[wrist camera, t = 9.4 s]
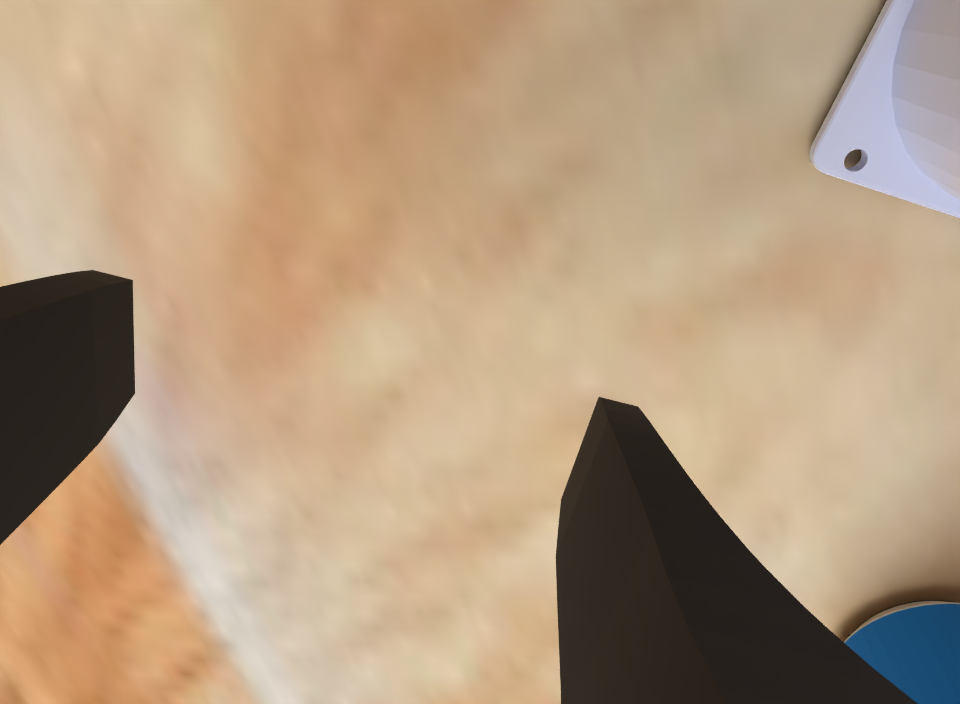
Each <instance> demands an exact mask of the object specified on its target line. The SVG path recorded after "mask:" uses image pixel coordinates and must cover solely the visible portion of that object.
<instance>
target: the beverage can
mask: <svg viewBox="0 0 960 704" xmlns="http://www.w3.org/2000/svg"><path fill="white" fill-rule="evenodd" d="M844 643H845V644H846V645H847V646H848V647H850V648H851V649H852V650H853V651H854V652H855V653H856V654H858V655H859V656H860V657H861V658H862V659H863V660H865V661H866V662H867V663H868V664H869V665H870V666H872V667H873V668H874V669H875V670H876V671H878V672H879V673H880V674H881V675H883V676H884V677H885V678H886V679H888V680H889V681H890V682H891V683H893V684H894V685H895V686H896V687H898V688H899V689H900V690H901V691H903V692H904V693H905V694H906V695H907V696H909V697H910V698H911V699H913V700H914V701H915V702H917V703H918V704H960V603H954V602H945V601H921V602H913V603H907V604H903V605H899V606H896V607H893V608H890V609H887V610H885V611H883V612H880V613H878V614H876V615H875V616H873V617H871V618H870V619H868V620H867V621H866V622H864V623H863V624H862V625H861V626H860V627H859V628H858V629H857V630H855V632H853V633H852V634H851V635H850V636H849V637H848V638H847V639H846V640H845V641H844Z"/></svg>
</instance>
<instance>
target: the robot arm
mask: <svg viewBox="0 0 960 704" xmlns="http://www.w3.org/2000/svg"><path fill="white" fill-rule="evenodd" d="M855 149H860V150H861V153H862V156H861V159H860V161H859V162H858V163H857V164H856V165H855V166H853V167H850V168H846V167H845V166H844V160H845V157H846V156H847V154H848V153H849V152H851V151H853V150H855ZM809 153H810V161H811V162H812V164H813V166H814V167H815V168H817V169H818V170H819V171H821V172H823V173H824V174H827V175H830V176H833V177H836V178H839V179H843V180H846V181H849V182H852V183H855V184H858V185H861V186H864V187H867V188H870V189H873V190H876V191H879V192H882V193H885V194H888V195H891V196H894V197H897V198H900V199H903V200H906V201H909V202H912V203H915V204H918V205H921V206H924V207H927V208H931V209H934V210H937V211H940V212H943V213H946V214H949V215H952V216H955V217H958V218H960V0H887V1H886V3H885V5H884V7H883V9H882V11H881V13H880V14H879V16H878V18H877V20H876V22H875V24H874V26H873V28H872V30H871V32H870V34H869V36H868V38H867V39H866V41H865V43H864V45H863V47H862V49H861V51H860V53H859V55H858V57H857V59H856V61H855V63H854V64H853V66H852V68H851V70H850V72H849V74H848V76H847V78H846V80H845V82H844V84H843V86H842V88H841V89H840V91H839V93H838V95H837V97H836V99H835V101H834V103H833V105H832V107H831V109H830V111H829V113H828V114H827V116H826V118H825V120H824V122H823V124H822V126H821V128H820V130H819V132H818V134H817V136H816V138H815V139H814V141H813V143H812V146H811V149H810V152H809ZM134 394H135V372H134V325H133V280H130V279H126V278H122V277H118V276H114V275H110V274H106V273H102V272H98V271H94V270H90V271H80V272H72V273H66V274H60V275H55V276H49V277H44V278H39V279H35V280H30V281H25V282H20V283H16V284H11V285H7V286H2V287H0V545H1V544H2V543H3V542H4V540H5V539H6V538H7V537H8V536H9V535H10V534H11V533H12V532H13V531H14V530H15V529H16V528H17V527H18V526H19V525H20V524H21V523H22V522H23V521H24V520H25V519H26V518H27V517H28V516H29V515H30V514H31V513H32V512H33V511H34V510H35V509H36V508H37V507H38V506H39V505H40V504H41V503H42V502H43V501H44V500H45V499H46V498H47V497H48V496H49V495H50V494H51V493H52V492H53V491H54V490H55V489H56V488H57V487H58V486H59V485H60V484H61V483H62V482H63V480H64V479H65V478H66V477H67V476H68V475H69V474H70V473H71V472H72V471H73V470H74V469H75V468H76V467H77V466H78V465H79V464H80V463H81V462H82V461H83V460H84V459H85V458H86V457H87V456H88V454H89V453H90V452H91V451H92V450H93V449H94V448H95V447H96V446H97V445H98V444H99V443H100V441H101V440H102V439H103V437H104V436H105V435H106V433H107V432H108V431H109V429H110V428H111V427H112V425H113V424H114V423H115V421H116V420H117V418H118V417H119V415H120V414H121V413H122V411H123V410H124V408H125V407H126V405H127V404H128V402H129V401H130V400H131V398H132V397H133V395H134ZM556 576H557V605H558V630H559V654H560V679H561V704H918V703H917V702H915V701H914V700H913V699H911V698H910V697H909V696H907V695H906V694H905V693H904V692H903V691H901V690H900V689H899V688H898V687H896V686H895V685H894V684H893V683H891V682H890V681H889V680H888V679H886V678H885V677H884V676H883V675H881V674H880V673H879V672H878V671H876V670H875V669H874V668H873V667H872V666H870V665H869V664H868V663H867V662H866V661H865V660H863V659H862V658H861V657H860V656H859V655H858V654H856V653H855V652H854V651H853V650H852V649H851V648H850V647H848V646H847V645H846V644H845V643H844V642H843V641H841V640H840V639H839V638H838V637H837V636H836V635H835V634H833V633H832V632H831V631H830V630H829V629H828V628H827V627H825V626H824V625H823V624H822V623H821V622H820V621H819V620H818V619H817V618H816V617H815V616H814V615H812V614H811V613H810V612H809V611H808V610H807V609H806V608H805V607H804V606H803V605H802V604H801V603H800V602H799V601H798V600H797V599H796V598H795V597H794V596H793V595H792V594H791V593H790V592H789V591H788V590H787V589H786V588H785V587H784V586H783V585H782V584H781V583H780V582H779V581H778V580H777V579H776V578H775V577H774V576H773V575H772V574H771V573H770V572H769V571H768V570H767V569H766V568H765V567H764V566H763V565H762V564H761V563H760V562H759V561H758V559H757V558H756V557H755V556H754V555H753V554H752V553H751V552H750V551H749V550H748V549H747V547H746V546H745V545H744V544H743V543H742V542H741V540H740V539H739V538H738V537H737V536H736V535H735V533H734V532H733V531H732V530H731V529H730V528H729V526H728V525H727V524H726V523H725V522H724V520H723V519H722V518H721V517H720V516H719V515H718V513H717V512H716V511H715V510H714V508H713V507H712V506H711V505H710V503H709V502H708V501H707V500H706V498H705V497H704V496H703V494H702V493H701V492H700V490H699V489H698V488H697V487H696V485H695V484H694V483H693V481H692V480H691V479H690V477H689V476H688V475H687V473H686V472H685V470H684V469H683V468H682V466H681V465H680V464H679V462H678V461H677V460H676V458H675V457H674V455H673V454H672V452H671V451H670V450H669V448H668V447H667V445H666V444H665V443H664V441H663V440H662V438H661V437H660V436H659V434H658V433H657V431H656V430H655V429H654V427H653V426H652V424H651V423H650V422H649V420H648V419H647V417H646V416H645V415H644V413H643V412H642V411H641V410H640V408H639V407H637V406H633V405H629V404H625V403H621V402H617V401H613V400H609V399H605V398H601V397H599V398H598V400H597V403H596V406H595V409H594V411H593V414H592V417H591V420H590V422H589V425H588V428H587V430H586V433H585V436H584V439H583V441H582V444H581V447H580V450H579V452H578V455H577V458H576V461H575V463H574V466H573V469H572V471H571V474H570V477H569V480H568V482H567V485H566V488H565V491H564V493H563V496H562V499H561V508H560V517H559V527H558V538H557V550H556Z"/></svg>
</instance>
